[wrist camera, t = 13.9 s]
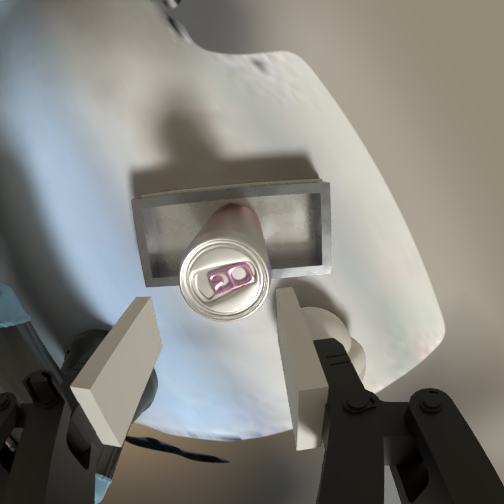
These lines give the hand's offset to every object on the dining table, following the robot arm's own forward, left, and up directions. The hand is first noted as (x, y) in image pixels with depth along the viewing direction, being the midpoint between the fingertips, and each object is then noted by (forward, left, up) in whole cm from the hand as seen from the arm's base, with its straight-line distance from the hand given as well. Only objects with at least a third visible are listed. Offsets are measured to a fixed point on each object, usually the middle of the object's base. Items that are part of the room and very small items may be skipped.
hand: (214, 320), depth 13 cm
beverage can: (0, 0, -20) cm, 20 cm away
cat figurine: (+10, -16, -21) cm, 28 cm away
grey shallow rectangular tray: (0, 0, -21) cm, 21 cm away
